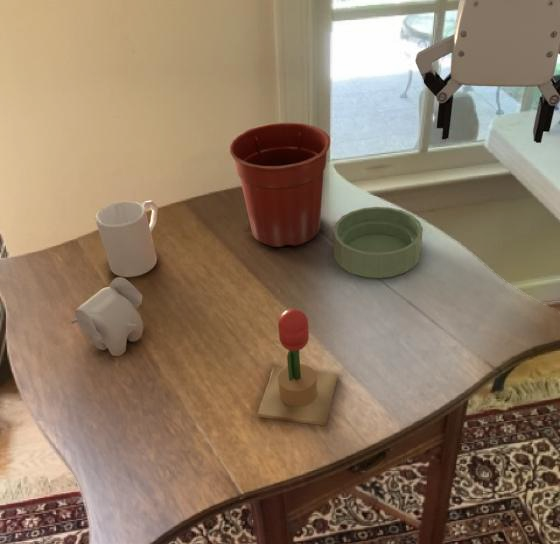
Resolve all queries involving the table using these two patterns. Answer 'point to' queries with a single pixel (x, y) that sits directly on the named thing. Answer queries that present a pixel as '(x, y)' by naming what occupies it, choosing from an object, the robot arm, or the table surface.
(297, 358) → the tulip
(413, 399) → the table surface
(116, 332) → the elephant figurine
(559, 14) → the robot arm
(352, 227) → the bowl
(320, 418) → the coaster
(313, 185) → the flower pot
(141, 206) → the mug
